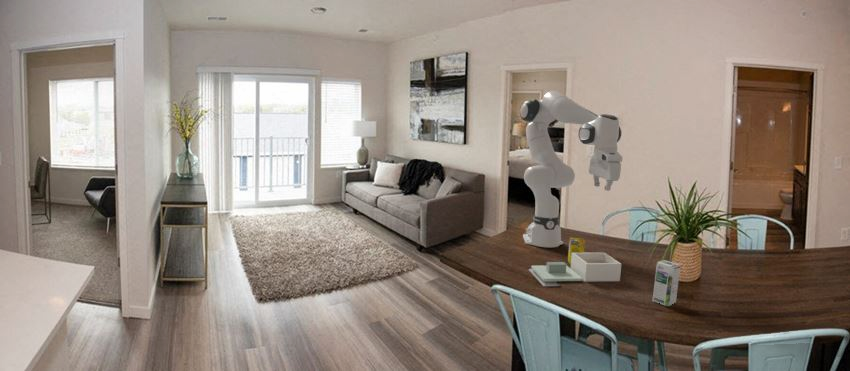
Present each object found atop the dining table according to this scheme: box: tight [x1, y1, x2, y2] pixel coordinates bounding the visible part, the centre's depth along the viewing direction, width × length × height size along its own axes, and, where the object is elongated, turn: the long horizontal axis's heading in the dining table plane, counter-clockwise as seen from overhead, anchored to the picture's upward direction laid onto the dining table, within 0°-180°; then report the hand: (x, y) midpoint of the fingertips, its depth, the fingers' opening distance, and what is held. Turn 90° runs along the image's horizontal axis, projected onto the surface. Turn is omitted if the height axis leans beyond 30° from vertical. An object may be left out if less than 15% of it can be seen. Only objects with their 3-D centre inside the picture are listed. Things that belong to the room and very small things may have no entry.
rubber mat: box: [528, 268, 562, 287], centre depth 190 cm, size 18×16×1 cm
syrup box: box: [651, 259, 682, 307], centre depth 167 cm, size 6×6×14 cm
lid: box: [530, 261, 583, 282], centre depth 189 cm, size 15×15×6 cm
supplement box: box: [567, 237, 586, 265], centre depth 206 cm, size 6×6×11 cm
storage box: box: [569, 251, 622, 283], centre depth 191 cm, size 14×14×8 cm
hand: (601, 188), depth 198 cm, fingers open, 8 cm apart
